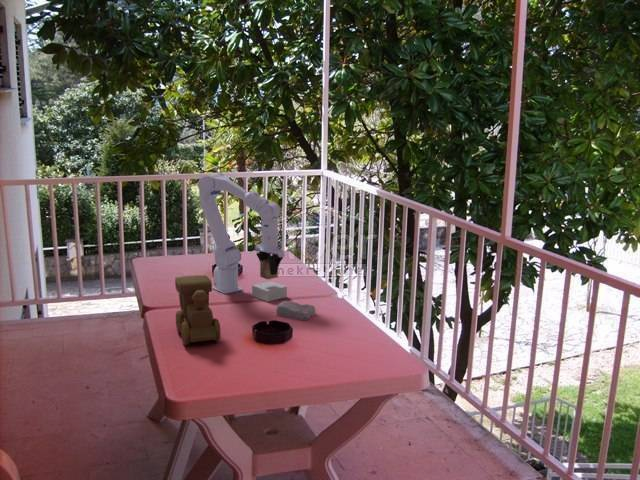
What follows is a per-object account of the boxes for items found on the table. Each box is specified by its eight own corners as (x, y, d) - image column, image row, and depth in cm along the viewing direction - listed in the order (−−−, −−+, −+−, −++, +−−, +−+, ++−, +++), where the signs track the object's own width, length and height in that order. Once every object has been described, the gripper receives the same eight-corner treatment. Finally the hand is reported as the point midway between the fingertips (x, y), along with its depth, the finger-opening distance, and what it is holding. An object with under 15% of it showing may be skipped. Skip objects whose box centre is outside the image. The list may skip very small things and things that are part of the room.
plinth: (252, 295, 243) (252, 285, 242) (271, 291, 249) (271, 281, 248) (267, 301, 237) (267, 291, 236) (286, 297, 243) (286, 286, 242)
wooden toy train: (173, 327, 210) (172, 276, 206) (209, 323, 213) (208, 273, 210) (184, 350, 191) (182, 295, 188) (223, 345, 195) (222, 291, 192)
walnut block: (260, 276, 241) (260, 260, 240) (270, 274, 244) (270, 258, 243) (267, 279, 238) (267, 263, 237) (277, 277, 241) (277, 261, 240)
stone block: (287, 313, 231) (273, 315, 222) (289, 299, 231) (275, 301, 222) (317, 319, 226) (305, 322, 217) (319, 306, 226) (307, 308, 217)
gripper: (248, 234, 241) (248, 270, 244) (273, 241, 230) (273, 278, 233) (264, 231, 245) (264, 267, 248) (289, 238, 235) (288, 275, 238)
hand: (269, 272), depth 241 cm, fingers closed on walnut block, 4 cm apart
